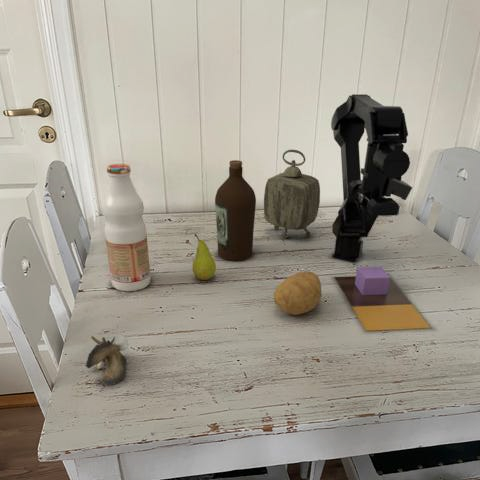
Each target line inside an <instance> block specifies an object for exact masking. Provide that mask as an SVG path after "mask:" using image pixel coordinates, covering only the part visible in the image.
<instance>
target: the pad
mask: <svg viewBox="0 0 480 480" xmlns="http://www.w3.org/2000/svg"><path fill="white" fill-rule="evenodd" d="M351 308H352V310H353V311H354V313H355V315H356V316H357V318H358V320H359V321H360V323H361V325H362V326H363V328H364V330H365V332H377V331H379V332H380V331H400V330H402V331H403V330H425V329H431V326H430V325H429V323H428V322H427V321H426V320H425V318H424V317H423V316H422V315H421V314H420V312H419V311H418V310H417V309H416V307H415V306H414V305H413V304H412V303H411V304H408V305H382V306H356V307H352V306H351Z"/></svg>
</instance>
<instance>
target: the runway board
mask: <svg viewBox="0 0 480 480" xmlns="http://www.w3.org/2000/svg"><path fill="white" fill-rule="evenodd" d="M355 279H356V275H355V276H334V280H335V281H336V283H337V285H338V286H339V289H340V290H341V292H342V293H343V295H344V296H345V298H346V300H347V301H348V303H349V305H350V307H351V308H352V307H356V306H382V305H408V304H412V303H411V301H410V300H409V299H408V298H407V297H406V295H405V294H404V293H403V292H402V290H401V289H400V288H399V286H398V285H397V284H396V283H395V282H394V281H393V280H392V278H391V277H390V281H389V286H388V291H387V294H384V295H362V294H361V292H360V291H359V289H358V288H357V286H356V285H355Z"/></svg>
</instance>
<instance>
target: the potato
mask: <svg viewBox="0 0 480 480" xmlns="http://www.w3.org/2000/svg"><path fill="white" fill-rule="evenodd" d="M322 294H323V293H322V283H321V280H320V277H319V276H318V275H317V274H316V273H315V272H313V271H308V270H305V271H298V272H296V273H294V274H292V275H290V276H288V277H287V278H284V279H283V281H281V282H280V283H278V285H277V286H276V287H275V289H274V292H273V301H274V305H276V306H277V307H278V309H279V310H280V311H281V312H283V313H285V314H289V315H293V316H298V315H302V314H305V313H308V312H310V311H311V310H313V309H315V308H316V307H317V306H318V303H319V301H320V300H321V298H322Z"/></svg>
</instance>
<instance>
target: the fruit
mask: <svg viewBox="0 0 480 480" xmlns="http://www.w3.org/2000/svg"><path fill="white" fill-rule="evenodd" d="M194 237H195V238H196V239H197V241H198V242H197V243H198V244H197V246H196V253H195V254H196V255H195V256H194V257H195V258H194V260H193V261H192V267H191V268H192V272H193V274H194V276H195V277H196V278H197V279H198V280H200V281H207V280H210V279H211V278H212V277H213V276H214V275H215V273H216V271H217V265H216V261H215V259H214V257H213V256H212V253H211V252H210V249H209V248H208V246H207V244H206V243H205V241H204V240H202V239H200V238H199V236H198V235H197V234H196V233H194Z"/></svg>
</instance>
